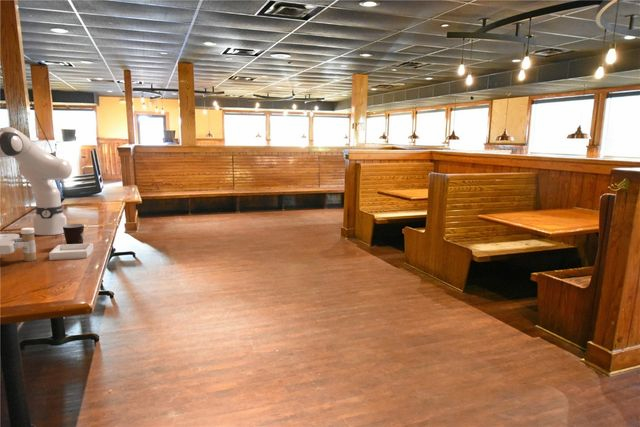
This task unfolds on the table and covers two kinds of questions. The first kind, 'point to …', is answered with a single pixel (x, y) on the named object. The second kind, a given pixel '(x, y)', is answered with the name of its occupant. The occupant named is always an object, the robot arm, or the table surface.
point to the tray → (71, 251)
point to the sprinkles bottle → (31, 249)
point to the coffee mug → (74, 233)
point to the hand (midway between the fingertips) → (30, 242)
